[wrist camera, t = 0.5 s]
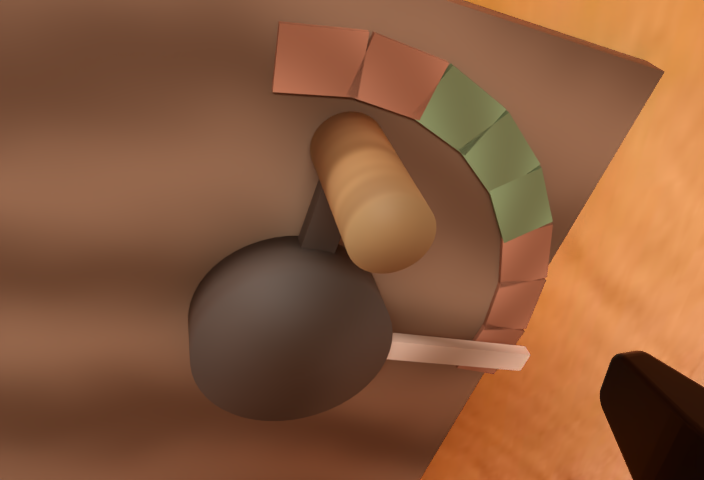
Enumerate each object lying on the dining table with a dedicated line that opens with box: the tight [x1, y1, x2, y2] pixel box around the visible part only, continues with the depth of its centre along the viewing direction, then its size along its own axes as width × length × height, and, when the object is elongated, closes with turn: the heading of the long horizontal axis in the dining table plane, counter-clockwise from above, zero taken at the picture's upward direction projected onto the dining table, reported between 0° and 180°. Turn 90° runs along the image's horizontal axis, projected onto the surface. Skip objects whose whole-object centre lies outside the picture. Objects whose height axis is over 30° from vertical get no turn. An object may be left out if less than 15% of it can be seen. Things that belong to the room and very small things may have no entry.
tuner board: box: [0, 0, 664, 480], centre depth 25 cm, size 24×21×1 cm
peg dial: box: [188, 111, 530, 421], centre depth 22 cm, size 14×12×5 cm
